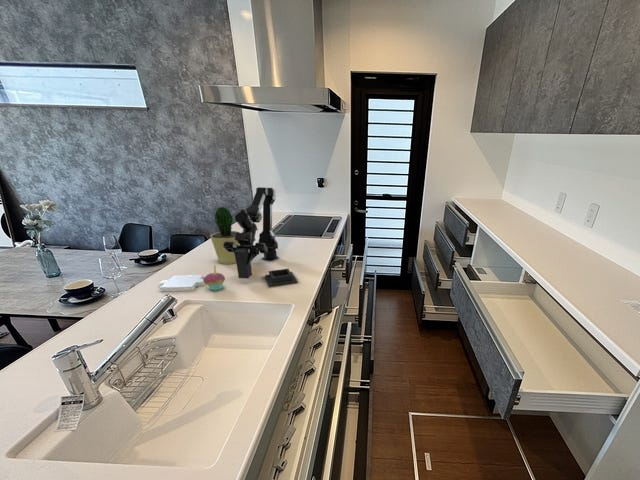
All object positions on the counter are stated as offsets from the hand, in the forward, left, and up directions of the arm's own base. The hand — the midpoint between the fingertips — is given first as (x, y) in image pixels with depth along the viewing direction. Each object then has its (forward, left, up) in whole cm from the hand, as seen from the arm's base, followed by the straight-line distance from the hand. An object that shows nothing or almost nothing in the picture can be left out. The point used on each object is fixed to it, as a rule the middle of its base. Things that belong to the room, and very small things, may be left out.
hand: (242, 264), depth 137 cm
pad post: (-1, +1, -7) cm, 7 cm away
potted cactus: (-31, +19, -10) cm, 37 cm away
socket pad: (+11, +11, -10) cm, 19 cm away
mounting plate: (-24, -14, -10) cm, 29 cm away
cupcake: (-8, -10, -10) cm, 16 cm away
